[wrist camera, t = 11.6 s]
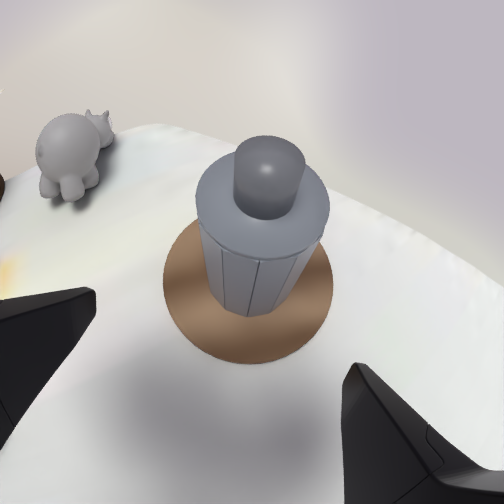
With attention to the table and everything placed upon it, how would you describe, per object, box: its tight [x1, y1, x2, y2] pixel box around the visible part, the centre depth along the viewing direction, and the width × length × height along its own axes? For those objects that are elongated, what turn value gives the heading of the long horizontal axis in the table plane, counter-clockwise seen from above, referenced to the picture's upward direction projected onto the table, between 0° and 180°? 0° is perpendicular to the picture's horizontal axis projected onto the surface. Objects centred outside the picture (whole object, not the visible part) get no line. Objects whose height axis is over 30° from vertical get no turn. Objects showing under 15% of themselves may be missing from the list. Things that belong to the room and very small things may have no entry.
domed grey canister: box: [195, 136, 330, 317], centre depth 17 cm, size 7×7×13 cm
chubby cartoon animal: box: [36, 110, 114, 202], centre depth 25 cm, size 7×12×8 cm, turn 165°
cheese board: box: [163, 219, 333, 364], centre depth 23 cm, size 14×14×4 cm
